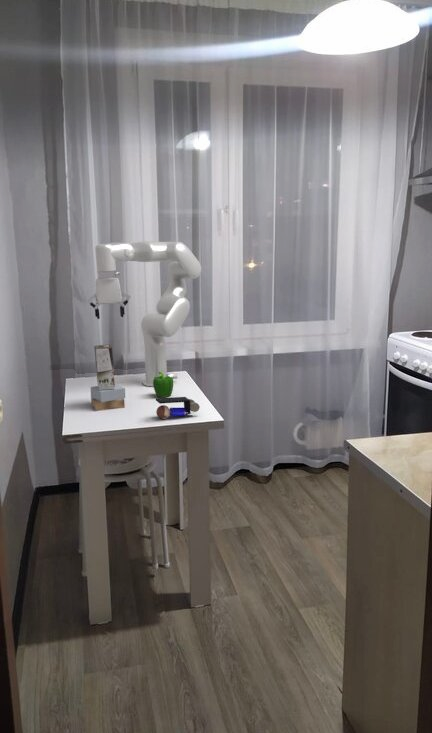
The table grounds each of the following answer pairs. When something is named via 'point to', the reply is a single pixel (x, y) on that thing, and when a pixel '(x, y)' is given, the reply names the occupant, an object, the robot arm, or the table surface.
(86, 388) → the table surface
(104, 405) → the tower base block
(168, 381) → the bell pepper
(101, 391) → the tower top block
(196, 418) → the table surface
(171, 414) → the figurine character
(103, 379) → the coffee box
